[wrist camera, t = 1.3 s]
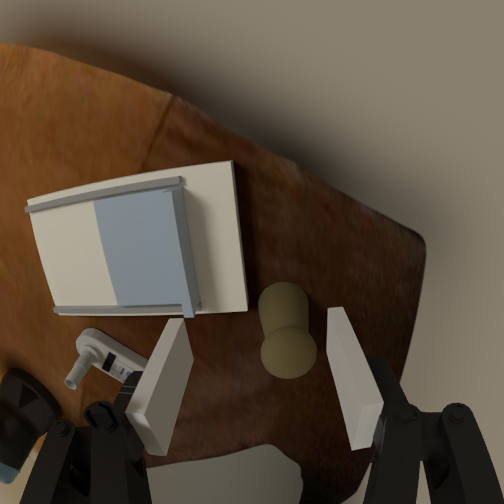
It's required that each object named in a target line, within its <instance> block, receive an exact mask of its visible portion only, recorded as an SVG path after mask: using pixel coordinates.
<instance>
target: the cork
mask: <svg viewBox="0 0 504 504" xmlns="http://www.w3.org/2000/svg"><path fill="white" fill-rule="evenodd" d="M258 311H259V315H260V319H261V323H262V328H263V332H264V336H265V340H264V342H263V345H262V347H261V359H262V362H263V364H264V366H265V368H266V369H267V370H268V371H269V372H270V373H271V374H273V375H275V376H277V377H279V378H284V379H293V378H296V377H300V376H302V375H303V374H305V373H307V372H308V371H309V370H310V369H311V368H312V366H313V364H314V363H315V361H316V355H317V348H316V345H315V341H314V339H313V338H312V337H311V335H310V334H309V326H308V298H307V295H306V293H305V292H304V291H303V289H302V288H300V287H299V286H297V285H296V284H293V283H289V282H278V283H275V284H272V285H270V286H269V287H267V288H266V289H265V290H264V291H263V292H262V293H261V295H260V297H259V300H258Z"/></svg>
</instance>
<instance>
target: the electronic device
mask: <svg viewBox="0 0 504 504" xmlns="http://www.w3.org/2000/svg"><path fill="white" fill-rule="evenodd" d="M76 347H77V350H78V352H79V354H80V357H79V358H78V360H77V361H76V362H75V364H74V367H73V369H72V370H71V372H70V373H69V375H68V376H67V378H66V379H65V384H66V385H67V386H68V387H69V388H70V389H73V390H75V389H76V388H77V386H78V384H79V383H80V381H81V380H82V378H83V376H84V375H85V374H86V373H87V372H88V370H89V368H90V367H91V365H94V366H95V367H97V368H99V369H100V370H102V371H103V372H105V373H107V374H108V375H110V376H112V377H113V378H115V379H117V380H119V381H120V382H122V383H124V381H125V380H126V378H127V377H128V376H129V375H130V374H131V373H132V372H133V371H144V370H145V368H146V366H147V364H148V362H149V360H148V359H146V358H144V357H143V356H141V355H139V354H137V353H136V352H134V351H132V350H131V349H129V348H127V347H126V346H124V345H122V344H121V343H119V342H117V341H116V340H114V339H113V338H111V337H109V336H108V335H106V334H105V333H103V332H101V331H99V330H97V329H94V328H89V329H85V330H84V331H83V332H82V333H81V335H80V336H79V337H78V338H77V341H76Z"/></svg>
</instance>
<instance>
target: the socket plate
mask: <svg viewBox="0 0 504 504" xmlns="http://www.w3.org/2000/svg"><path fill="white" fill-rule="evenodd" d="M179 186H182V190H183V197H184V204H185V211H186V218H187V224H188V231H189V237H190V243H191V249H192V255H193V261H194V267H195V273H196V278H197V284H198V289H199V295H200V302H199V305H198V308H197V310H196V313H195V314H202V313H222V312H239V311H248V301H249V300H248V291H247V282H246V274H245V265H244V256H243V248H242V239H241V230H240V221H239V212H238V203H237V194H236V184H235V175H234V166H233V160H232V161H223V162H215V163H207V164H199V165H192V166H185V167H178V168H171V169H165V170H159V171H153V172H147V173H141V174H136V175H130V176H125V177H120V178H115V179H110V180H105V181H100V182H96V183H91V184H87V185H82V186H78V187H74V188H69V189H65V190H61V191H57V192H53V193H49V194H46V195H42V196H38V197H35V198H32V199H29V200H27V202H28V206H27V207H24V208H25V213H27V212H30V217H31V222H32V226H33V230H34V235H35V239H36V243H37V247H38V251H39V254H40V258H41V262H42V265H43V268H44V272H45V275H46V278H47V281H48V285H49V288H50V291H51V294H52V297H53V299H54V302H55V305H56V306H55V307H54V308H53V311H54V313H59V315H85V316H133V315H176V314H183V310H182V305H181V304H163V305H131V306H118V303H117V300H116V296H115V293H114V289H113V286H112V282H111V279H110V275H109V271H108V267H107V263H106V259H105V255H104V251H103V247H102V243H101V238H100V234H99V229H98V224H97V219H96V214H95V209H94V203H93V201H95V200H98V199H104V198H109V197H115V196H120V195H126V194H132V193H138V192H145V191H151V190H158V189H164V188H171V187H179Z"/></svg>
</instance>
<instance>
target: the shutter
mask: <svg viewBox="0 0 504 504" xmlns="http://www.w3.org/2000/svg"><path fill="white" fill-rule="evenodd" d="M93 203H94V209H95V214H96V219H97V224H98V229H99V234H100V238H101V243H102V247H103V251H104V255H105V259H106V263H107V267H108V271H109V275H110V279H111V282H112V286H113V289H114V293H115V296H116V300H117V303H118V306H131V305H163V304H181V305H182V310H183V314H184V318H188V317H194V316H195V313H196V310H197V308H198V305H199V302H200V295H199V289H198V284H197V278H196V273H195V267H194V261H193V255H192V249H191V243H190V237H189V231H188V224H187V218H186V211H185V204H184V197H183V190H182V186H179V187H171V188H164V189H158V190H151V191H145V192H138V193H132V194H126V195H120V196H115V197H109V198H104V199H98V200H95V201H93Z"/></svg>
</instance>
